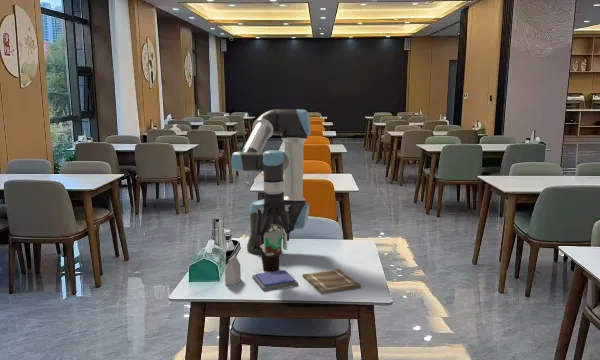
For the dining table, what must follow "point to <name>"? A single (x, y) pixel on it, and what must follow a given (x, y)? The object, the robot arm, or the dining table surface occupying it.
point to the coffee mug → (270, 262)
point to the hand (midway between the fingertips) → (274, 250)
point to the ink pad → (274, 280)
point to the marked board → (331, 281)
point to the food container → (273, 240)
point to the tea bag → (232, 271)
